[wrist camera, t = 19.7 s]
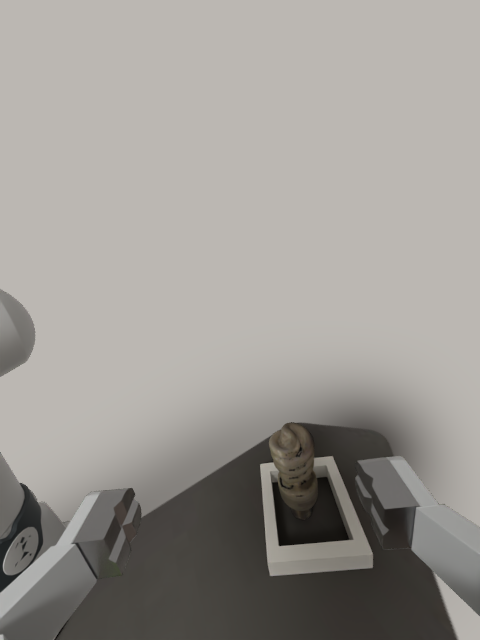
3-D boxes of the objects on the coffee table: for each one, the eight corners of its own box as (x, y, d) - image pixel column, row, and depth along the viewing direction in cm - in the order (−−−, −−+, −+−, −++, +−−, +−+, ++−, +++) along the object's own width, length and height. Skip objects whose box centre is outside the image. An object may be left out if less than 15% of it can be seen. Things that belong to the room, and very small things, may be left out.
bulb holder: (270, 576, 29) (267, 563, 28) (262, 475, 41) (260, 464, 40) (372, 567, 28) (373, 554, 27) (333, 467, 40) (332, 456, 39)
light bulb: (298, 547, 31) (286, 458, 26) (272, 510, 35) (258, 429, 31) (329, 519, 33) (323, 433, 29) (301, 487, 38) (292, 409, 33)
